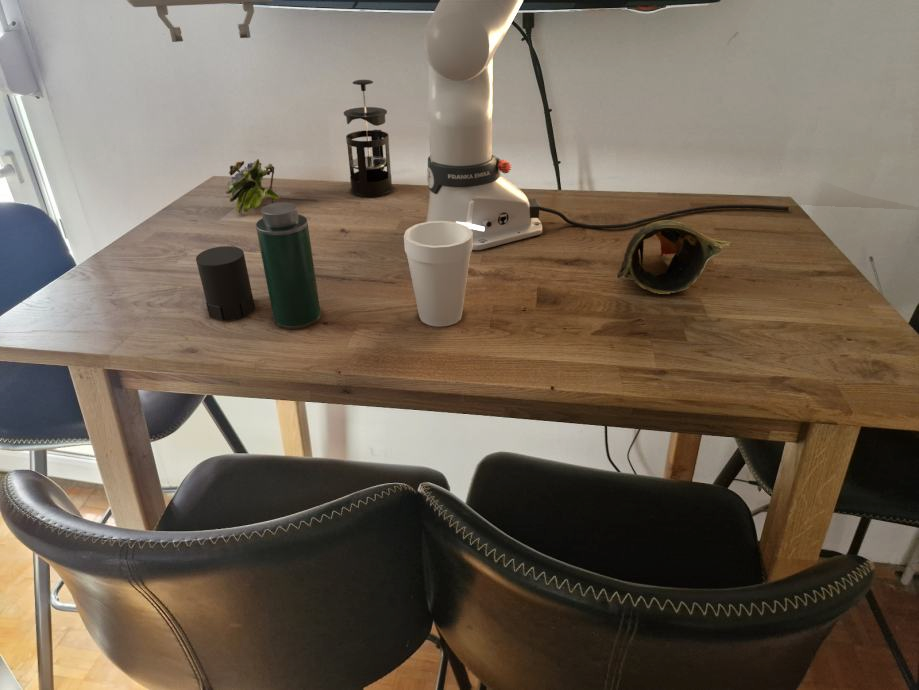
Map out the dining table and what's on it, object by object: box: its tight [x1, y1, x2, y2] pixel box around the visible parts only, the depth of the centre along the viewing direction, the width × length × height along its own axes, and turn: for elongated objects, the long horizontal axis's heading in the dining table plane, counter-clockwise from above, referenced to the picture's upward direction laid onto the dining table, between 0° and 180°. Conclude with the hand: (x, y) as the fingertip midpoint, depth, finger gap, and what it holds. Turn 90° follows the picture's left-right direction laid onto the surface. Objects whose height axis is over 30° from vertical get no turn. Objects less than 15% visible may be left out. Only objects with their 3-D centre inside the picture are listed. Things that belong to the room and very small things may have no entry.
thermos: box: [255, 201, 322, 331], centre depth 91 cm, size 7×7×17 cm
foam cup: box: [403, 221, 473, 328], centre depth 92 cm, size 10×9×13 cm
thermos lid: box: [195, 245, 256, 322], centre depth 95 cm, size 7×7×9 cm
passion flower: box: [225, 158, 281, 216], centre depth 134 cm, size 11×11×12 cm
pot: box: [616, 219, 734, 295], centre depth 104 cm, size 17×11×18 cm
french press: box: [343, 79, 394, 199], centre depth 138 cm, size 12×9×23 cm
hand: (212, 39), depth 95 cm, fingers open, 8 cm apart
